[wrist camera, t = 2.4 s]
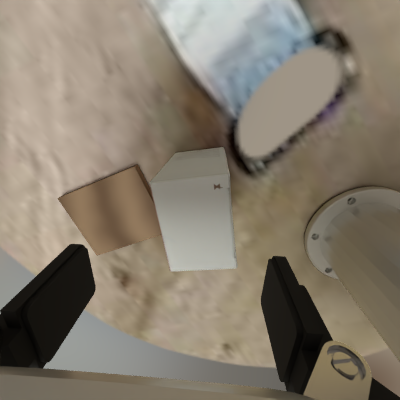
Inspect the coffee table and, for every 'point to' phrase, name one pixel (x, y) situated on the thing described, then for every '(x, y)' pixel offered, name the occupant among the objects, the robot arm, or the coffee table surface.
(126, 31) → the coffee table surface
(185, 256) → the small box
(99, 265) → the coffee table surface
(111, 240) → the walnut coaster board
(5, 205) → the coffee table surface
